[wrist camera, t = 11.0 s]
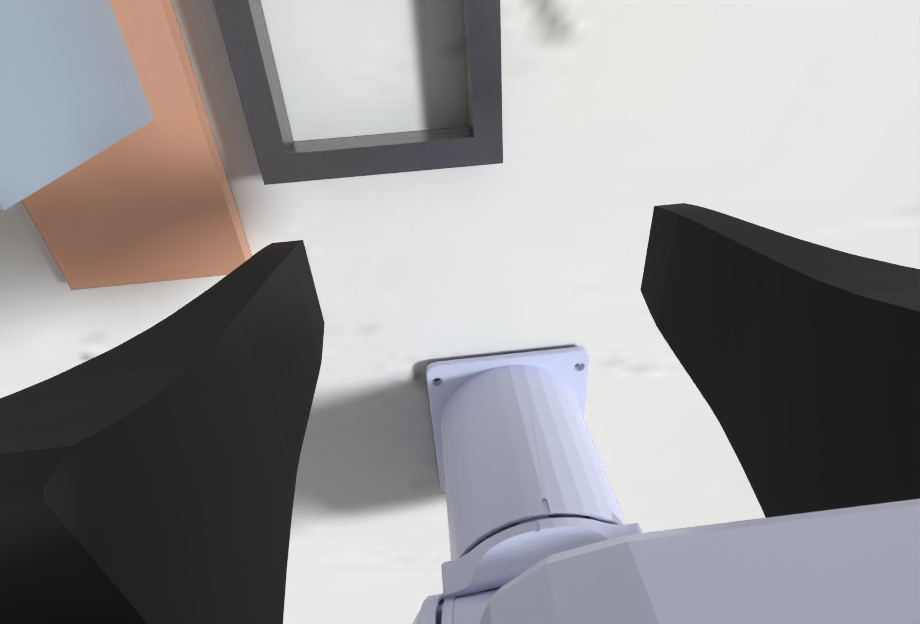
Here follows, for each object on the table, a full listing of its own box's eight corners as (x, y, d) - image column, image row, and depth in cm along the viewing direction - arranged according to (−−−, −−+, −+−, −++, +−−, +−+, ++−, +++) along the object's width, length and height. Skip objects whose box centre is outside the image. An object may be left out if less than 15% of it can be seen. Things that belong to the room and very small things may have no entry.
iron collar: (496, 150, 20) (502, 163, 19) (273, 170, 20) (264, 184, 19) (489, -139, 15) (497, -148, 14) (196, -119, 15) (177, -127, 14)
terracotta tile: (254, 263, 22) (249, 272, 21) (81, 279, 21) (71, 289, 21) (72, -310, 13) (55, -325, 12) (-225, -295, 13) (-260, -309, 12)
